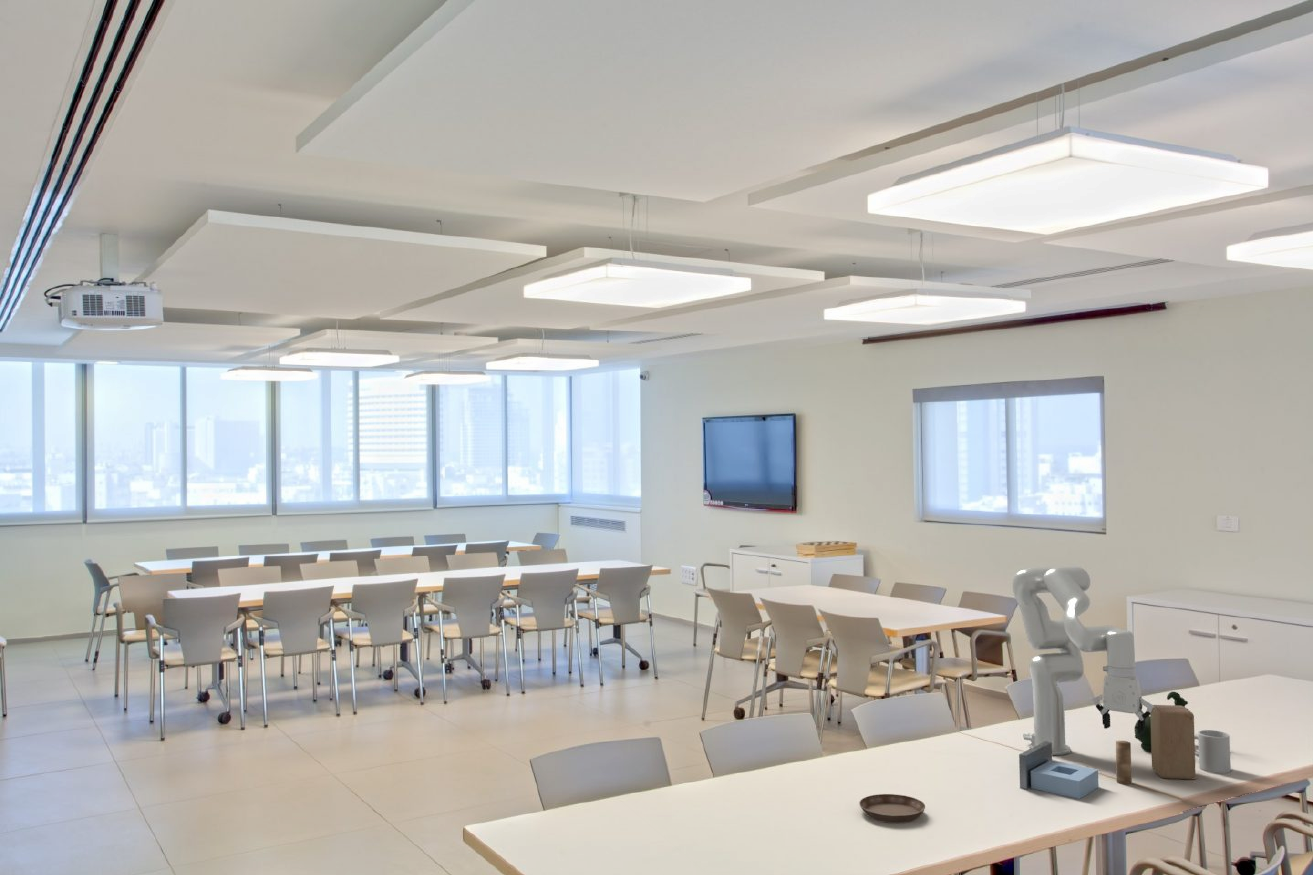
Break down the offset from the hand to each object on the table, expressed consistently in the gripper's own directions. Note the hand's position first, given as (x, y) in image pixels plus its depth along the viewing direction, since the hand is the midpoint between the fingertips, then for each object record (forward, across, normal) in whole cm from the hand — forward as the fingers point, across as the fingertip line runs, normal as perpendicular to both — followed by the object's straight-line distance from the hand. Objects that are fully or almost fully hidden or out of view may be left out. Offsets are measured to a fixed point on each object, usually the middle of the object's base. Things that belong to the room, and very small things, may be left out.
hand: (1124, 730), depth 294 cm
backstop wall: (+16, -20, -16) cm, 30 cm away
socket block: (+16, -12, -16) cm, 25 cm away
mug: (+16, +13, +32) cm, 38 cm away
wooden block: (+16, +7, +18) cm, 25 cm away
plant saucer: (+16, -38, -68) cm, 79 cm away
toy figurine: (+15, -5, +44) cm, 47 cm away
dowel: (+16, -1, 0) cm, 16 cm away
